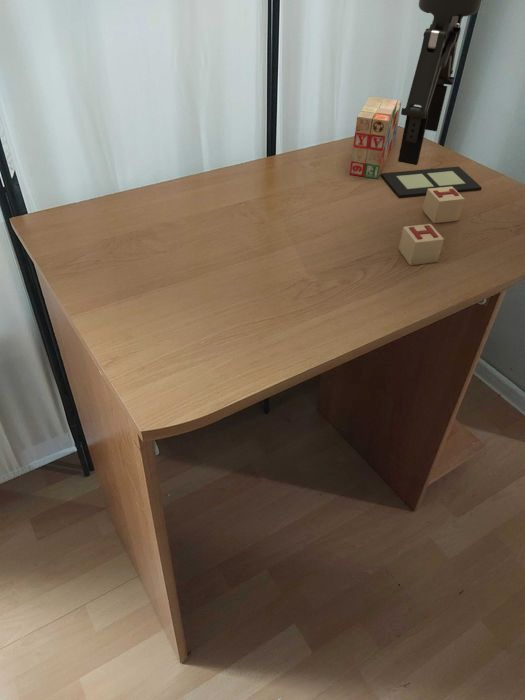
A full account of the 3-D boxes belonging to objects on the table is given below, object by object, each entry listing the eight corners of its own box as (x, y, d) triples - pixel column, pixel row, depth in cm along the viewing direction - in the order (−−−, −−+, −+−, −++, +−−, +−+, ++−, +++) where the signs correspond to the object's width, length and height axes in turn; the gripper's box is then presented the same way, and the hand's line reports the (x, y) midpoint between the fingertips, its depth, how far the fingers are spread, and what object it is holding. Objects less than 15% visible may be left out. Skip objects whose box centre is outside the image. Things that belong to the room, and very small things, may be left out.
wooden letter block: (446, 207, 104) (452, 185, 101) (458, 220, 100) (465, 197, 97) (422, 210, 103) (427, 187, 100) (433, 223, 100) (439, 200, 96)
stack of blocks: (369, 137, 128) (377, 82, 120) (395, 141, 127) (405, 86, 119) (349, 174, 114) (356, 115, 105) (378, 179, 112) (388, 119, 104)
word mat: (481, 190, 109) (482, 186, 109) (398, 198, 107) (399, 194, 106) (458, 168, 117) (458, 165, 116) (380, 175, 114) (380, 172, 113)
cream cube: (437, 262, 90) (444, 238, 87) (410, 265, 89) (415, 241, 86) (424, 246, 94) (431, 222, 90) (398, 249, 93) (403, 225, 90)
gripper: (444, -42, 75) (413, 113, 90) (400, -12, 59) (370, 173, 73) (499, -38, 73) (458, 121, 88) (470, -5, 56) (425, 184, 71)
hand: (418, 145), depth 80 cm, fingers open, 13 cm apart
